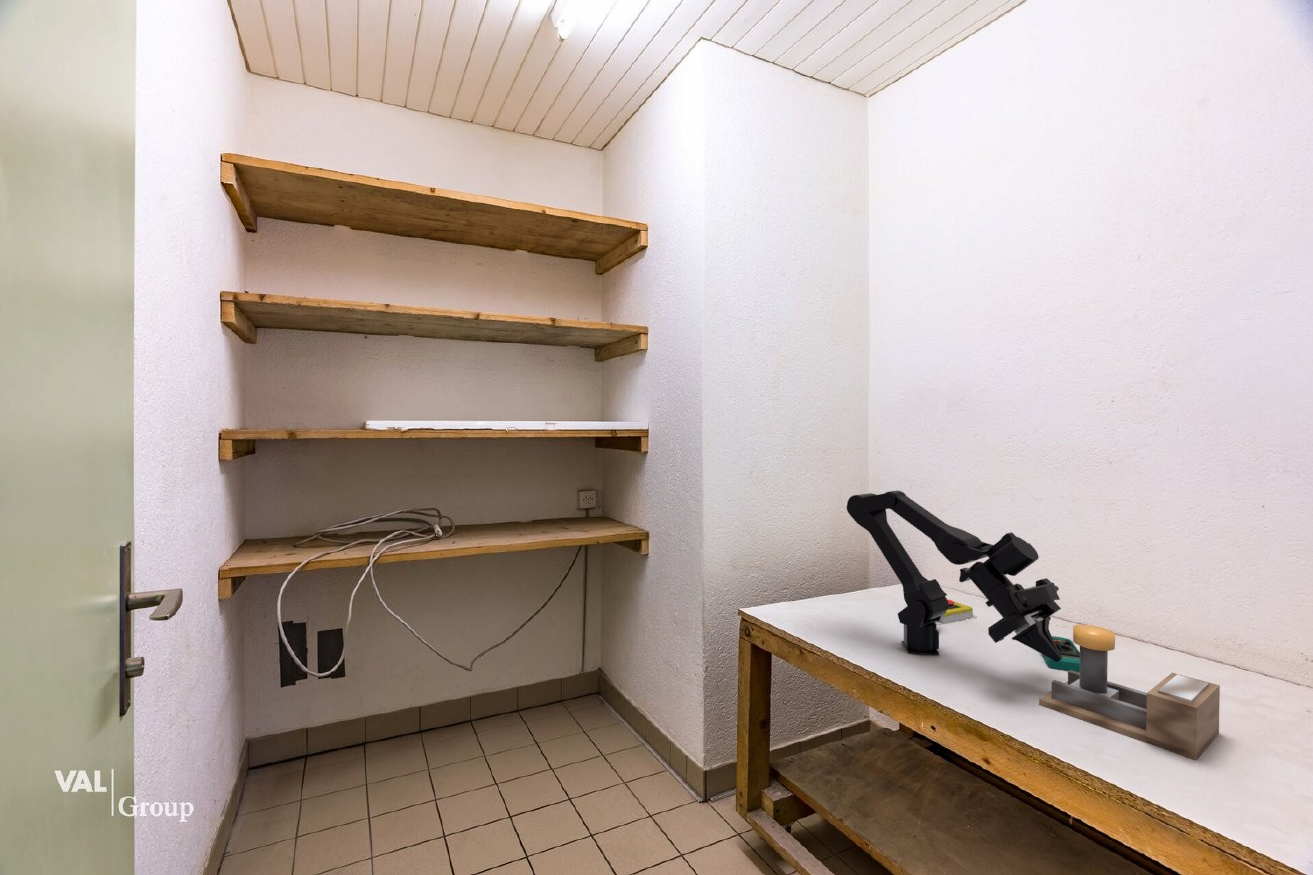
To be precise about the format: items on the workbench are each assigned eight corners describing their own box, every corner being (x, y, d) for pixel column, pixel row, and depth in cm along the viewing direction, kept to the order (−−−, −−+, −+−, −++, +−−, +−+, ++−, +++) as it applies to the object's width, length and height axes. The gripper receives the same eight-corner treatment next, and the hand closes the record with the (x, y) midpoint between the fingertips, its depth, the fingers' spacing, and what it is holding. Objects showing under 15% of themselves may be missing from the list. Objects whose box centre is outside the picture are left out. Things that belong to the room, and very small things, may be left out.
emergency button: (978, 602, 152) (936, 610, 146) (978, 619, 152) (936, 627, 146) (949, 593, 161) (908, 600, 155) (948, 608, 161) (908, 616, 155)
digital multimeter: (1071, 649, 131) (1071, 636, 131) (1091, 676, 118) (1091, 661, 118) (1033, 645, 134) (1033, 632, 134) (1048, 670, 121) (1048, 656, 120)
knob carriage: (1066, 699, 105) (1067, 629, 104) (1080, 690, 108) (1080, 622, 108) (1106, 713, 100) (1107, 639, 99) (1119, 703, 103) (1120, 631, 103)
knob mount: (1039, 704, 105) (1039, 658, 105) (1068, 685, 113) (1069, 642, 112) (1196, 760, 88) (1197, 705, 87) (1218, 733, 95) (1219, 682, 95)
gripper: (1005, 573, 107) (1074, 651, 98) (1049, 559, 117) (1115, 628, 109) (962, 605, 113) (1024, 680, 105) (1007, 589, 124) (1066, 656, 115)
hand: (1059, 660), depth 108 cm, fingers closed
